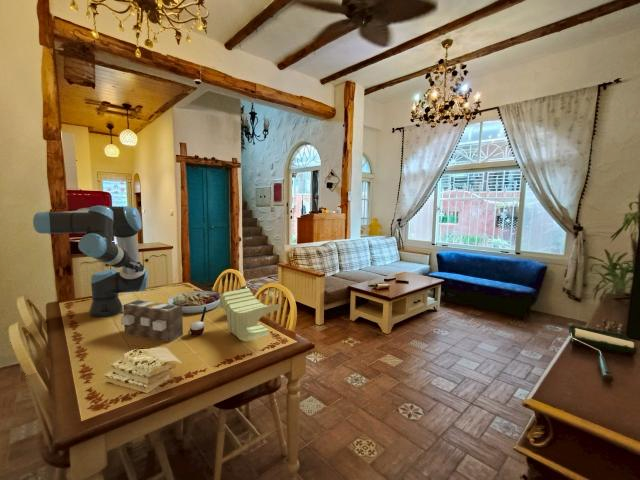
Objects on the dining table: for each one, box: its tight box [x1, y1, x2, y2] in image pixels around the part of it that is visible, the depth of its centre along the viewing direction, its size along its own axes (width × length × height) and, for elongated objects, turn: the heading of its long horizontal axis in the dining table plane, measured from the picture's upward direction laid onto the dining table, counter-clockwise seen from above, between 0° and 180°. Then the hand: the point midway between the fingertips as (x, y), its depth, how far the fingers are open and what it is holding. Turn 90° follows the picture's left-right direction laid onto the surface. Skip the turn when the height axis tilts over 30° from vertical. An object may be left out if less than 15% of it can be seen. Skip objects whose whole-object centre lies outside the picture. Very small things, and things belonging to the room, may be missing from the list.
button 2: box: [153, 320, 167, 331], centre depth 132 cm, size 4×3×3 cm
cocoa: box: [187, 307, 207, 337], centre depth 141 cm, size 10×6×12 cm, turn 125°
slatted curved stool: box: [219, 287, 281, 342], centre depth 143 cm, size 30×16×18 cm, turn 41°
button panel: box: [122, 299, 184, 343], centre depth 139 cm, size 26×8×15 cm, turn 74°
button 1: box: [120, 314, 135, 325], centre depth 137 cm, size 4×3×3 cm
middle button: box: [140, 317, 151, 326], centre depth 136 cm, size 4×3×3 cm
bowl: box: [166, 290, 222, 315], centre depth 179 cm, size 30×30×8 cm
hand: (143, 271), depth 137 cm, fingers closed
